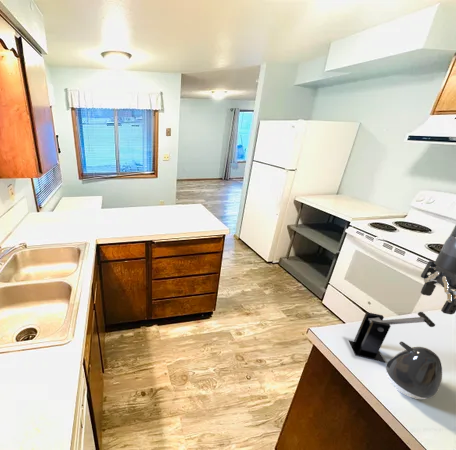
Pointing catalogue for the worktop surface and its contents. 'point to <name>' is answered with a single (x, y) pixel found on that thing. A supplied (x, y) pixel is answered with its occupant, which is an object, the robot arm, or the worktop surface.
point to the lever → (406, 320)
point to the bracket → (370, 338)
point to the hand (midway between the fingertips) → (435, 303)
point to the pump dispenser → (415, 372)
